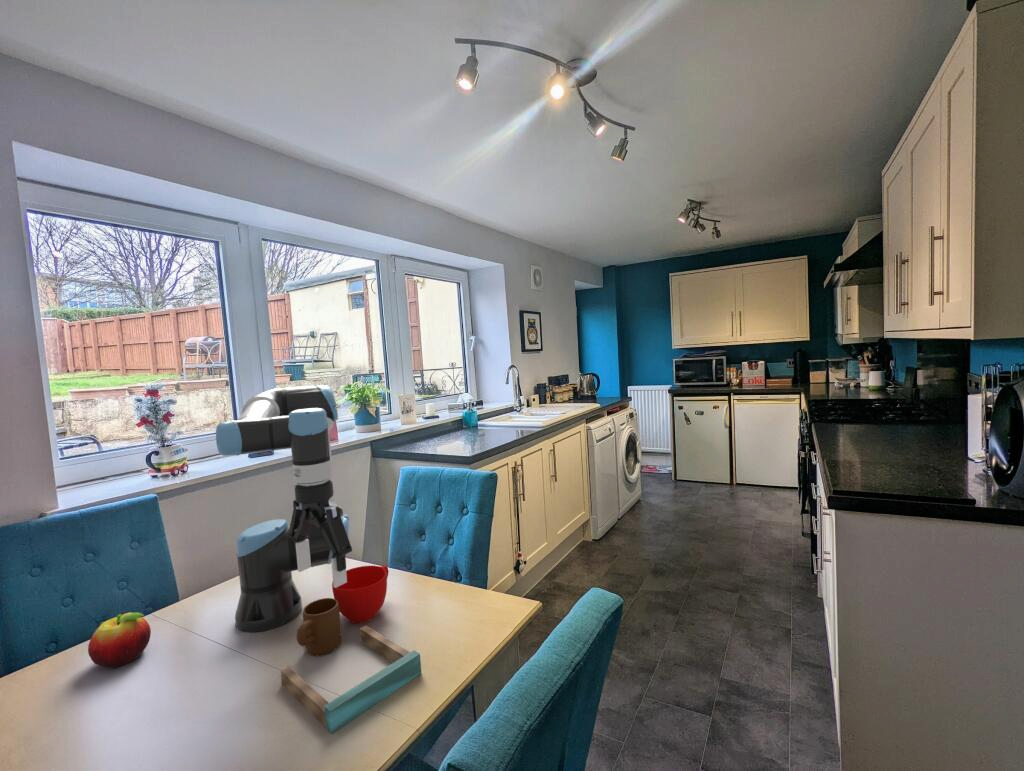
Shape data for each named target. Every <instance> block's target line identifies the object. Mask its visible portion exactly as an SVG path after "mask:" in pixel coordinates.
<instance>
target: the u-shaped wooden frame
mask: <svg viewBox="0 0 1024 771" xmlns="http://www.w3.org/2000/svg"><path fill="white" fill-rule="evenodd" d="M359 631H360V632H359V633H360V642H361V643H363V644H365V645H366V646H367V647H369V648H370V649H372V650H373V651H375V652H376V653H378V654H380V655H381V656H383V657H384V658H386V659H388V660H389V661H390V662H392V663H391V664H389V665H388V666H386V667H384V668H383V669H381V670H379V671H378V672H377V673H374V674H373V675H371V677H368V678H367V679H365V680H364V681H362V682H360V683H358V684H357V685H356V686H354V687H353V688H350V690H347V691H345V692H344V693H343V694H341V695H340V696H338V697H336V698H335V699H333V700H331V701H330V702H329V701H327V699H325V698H324V697H323V696H322V695H321V694H320V693H318V691H316V690H315V689H314V688H313V687H312V686H311V685H310V684H309V683H308V682H306V681H305V680H304V679H303V678H302V677H301V676H300V675H299V674H298V673H296V672H295V670H293V669H292V668H291V667H290V666H286V667H284V668H281V669H280V680H281V681H280V682H281V686H282V687H283V688H285V689H286V690H287V691H288V693H290V694H291V695H292V696H293V697H294V699H295V700H297V701H298V703H300V704H301V705H302V706H303V707H304V708H305V709H306V710H307V711H308V712H309V713H310V714H311V715H312V716H313V717H314V718H315V719H316V720H317V721H318V722H319V723H320V724H321V725H322V726H324V728H325V729H326V730H327V731H328V732H329V733H330V734H333V733H335V732H336V731H338V730H340V729H341V728H342V727H344V726H345V725H347V724H348V723H351V721H353V720H355V719H356V718H358V717H359V716H360V715H362V714H363V713H365V712H366V711H368V710H369V709H370V708H372V707H373V706H375V705H376V704H378V703H380V702H381V701H382V700H384V699H385V698H387V697H388V696H390V695H391V694H392V693H394V692H395V691H397V690H399V689H400V688H401V687H403V686H404V685H406V684H408V683H409V682H410V681H412V680H414V678H416V677H418V676H419V675H420V674H422V664H421V663H422V662H421V654H420V652H418V651H416V650H415V649H414V650H412V651H409V650H407V649H405V648H404V647H402V646H401V645H399V644H397V643H396V642H394V641H393V640H392V639H389V638H387V637H385V636H384V635H383V634H381V633H379V632H378V631H376V630H374V629H373V628H372V627H369V626H368V625H364V626H362V627H360V628H359Z"/></svg>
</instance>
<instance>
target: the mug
mask: <svg viewBox="0 0 1024 771" xmlns="http://www.w3.org/2000/svg"><path fill="white" fill-rule="evenodd" d="M296 640H297V643H298V644H299V646H301V647H305V651H306V653H307V654H308V655H309V656H313V657H322V656H326V655H328V654H331V653H332V652H335V651H336V650H337V649H338V648H339V647H340V646H341V644H342V623H341V613H340V611H339V605H338V601H337V600H336V599H334V597H333V598H332V597H331V598H330V597H324V598H319V599H316V600H313V601H311V602H309V603H308V604H307V605H305V606H304V607H303V608H302V622H301V624H300V625H299V627H298V628H297V631H296Z"/></svg>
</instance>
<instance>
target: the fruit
mask: <svg viewBox="0 0 1024 771" xmlns="http://www.w3.org/2000/svg"><path fill="white" fill-rule="evenodd" d="M145 616H146V615H144V614H143V613H141V612H137V611H136V612H127V613H124V614H122V613H120V614H118V615H117V616H115V617H113V618H110V619H107V620H106V621H103V622H102V623H101V624H100V625H99V626H98V627H97V628H96V629H95V631H94V633H93V634H92V636H91V637H90V640H89V643H88V647H87V652H88V656H89V658H90V659H91V661H92V663H93V664H95V665H97V666H99V667H102V668H107V669H112V668H117V667H120V666H123V665H126V664H129V663H131V662H132V661H134V660H135V659H137V658H138V657H139V656H140V655H141V654H142V653H143V652H144V651H145V650H146V648H147V646H148V645H149V642H150V638H151V634H152V632H151V631H152V630H151V626H150V623H148V621H147V620H146V619H145V618H144V617H145Z"/></svg>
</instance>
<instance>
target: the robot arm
mask: <svg viewBox="0 0 1024 771" xmlns="http://www.w3.org/2000/svg"><path fill="white" fill-rule="evenodd" d="M338 419H339V413H338V408H337V402H336V397H335V395H334V391H333V389H332V387H331V386H330V385H326V384H325V385H322V384H321V385H318V384H314V385H305V386H295V387H294V386H291V387H277V388H272V389H269V390H266V391H262V392H260V393H258V394H256V395H254V396H252V397H251V398H249V399H248V400H247V401H246V402H245V403H244V405H243V406H242V410H241V415H240V416H239V418H237V419H236V420H234V419H230V420H229V421H221V422H219V423H218V424H217V426H216V429H215V441H216V448H217V451H218V453H219V454H220V455H221V456H223V457H224V456H225V457H226V456H228V457H229V456H236V457H237V456H240V455H245V454H246V455H247V454H255V453H262V452H270V451H280V450H288V449H290V450H291V460H292V471H291V474H292V475H293V482H294V483H295V485H294V487H293V488H294V497H295V499H294V500H293V502H292V503H293V505H292V507H293V510H292V516H291V519H290V520H291V521H290V524H289V523H288V520H286V519H284V518H280V519H278V518H277V519H270V520H267V521H263V522H259V523H258V524H255V525H253V526H251V527H249V528H247V529H245V530H244V531H243V532H241V533H240V534H239V535H238V536H237V538H236V553H235V555H236V558H237V568H238V574H239V575H238V576H239V586H240V594H239V599H238V603H237V608H236V611H235V615H234V616H235V617H234V619H235V627H236V629H237V630H239V631H240V632H246V633H254V632H257V633H258V632H264V631H267V630H271V629H274V628H277V627H279V626H282V625H284V624H286V623H288V622H290V621H292V620H293V619H294V618H295V617H297V616H298V615H299V614H300V612H301V611H302V610H303V602H302V596H301V594H300V591H299V590H298V588H297V587H296V584H295V582H294V580H293V576H292V574H293V572H295V571H297V572H298V573H301V572H303V571H306V570H308V569H310V568H314V567H319V566H323V565H331V574H332V582H333V586H334V587H335V588H336V587H338V586H340V585H342V584H344V583H346V582H347V575H346V571H347V560H346V559H347V556H348V554H349V553H352V552H353V548H352V545H351V542H350V538H349V528H350V527H349V525H350V524H349V523H350V521H349V520H350V515H349V514H345V513H344V512H343V507H341V506H339V505H338V504H337V500H336V498H337V497H336V491H335V490H336V489H335V488H336V487H335V478H334V468H333V459H332V449H331V448H332V447H331V437H330V431H331V430H332V429H333V427H334V423H335V422H337V421H338Z"/></svg>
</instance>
